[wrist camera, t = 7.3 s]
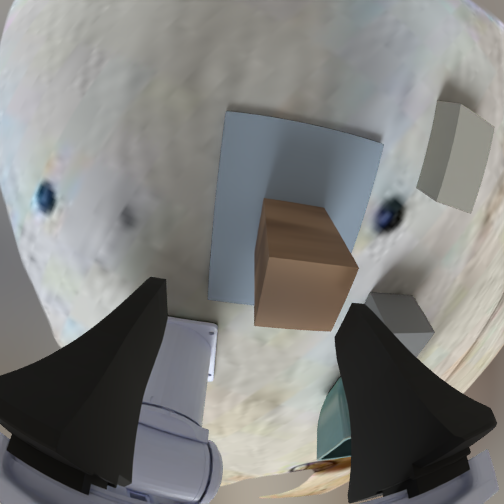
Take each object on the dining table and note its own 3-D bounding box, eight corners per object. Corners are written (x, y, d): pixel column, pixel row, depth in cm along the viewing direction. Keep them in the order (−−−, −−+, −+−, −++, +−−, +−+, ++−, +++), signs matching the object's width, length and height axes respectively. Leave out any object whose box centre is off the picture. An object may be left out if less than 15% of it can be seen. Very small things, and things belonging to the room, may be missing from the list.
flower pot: (365, 399, 32) (378, 452, 24) (308, 402, 32) (315, 461, 24) (394, 363, 28) (416, 424, 20) (330, 366, 27) (345, 438, 19)
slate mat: (326, 307, 22) (328, 312, 22) (208, 294, 22) (207, 299, 21) (380, 142, 15) (384, 144, 15) (226, 111, 15) (225, 111, 14)
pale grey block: (449, 198, 17) (470, 213, 15) (414, 186, 17) (436, 201, 14) (469, 120, 14) (494, 127, 11) (435, 100, 14) (460, 103, 11)
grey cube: (390, 332, 25) (406, 369, 20) (349, 331, 24) (362, 372, 20) (412, 295, 22) (434, 332, 18) (369, 291, 22) (389, 333, 18)
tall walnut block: (309, 259, 19) (331, 331, 13) (254, 252, 19) (254, 325, 13) (324, 207, 17) (358, 268, 11) (263, 197, 17) (269, 256, 11)
